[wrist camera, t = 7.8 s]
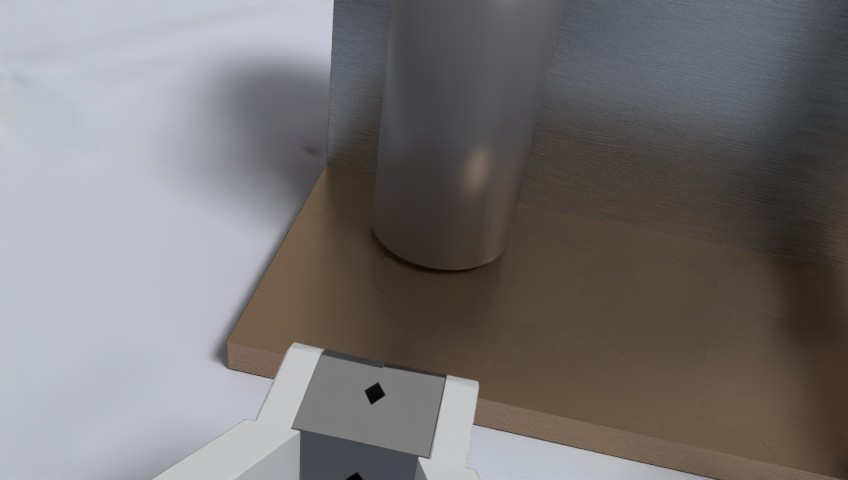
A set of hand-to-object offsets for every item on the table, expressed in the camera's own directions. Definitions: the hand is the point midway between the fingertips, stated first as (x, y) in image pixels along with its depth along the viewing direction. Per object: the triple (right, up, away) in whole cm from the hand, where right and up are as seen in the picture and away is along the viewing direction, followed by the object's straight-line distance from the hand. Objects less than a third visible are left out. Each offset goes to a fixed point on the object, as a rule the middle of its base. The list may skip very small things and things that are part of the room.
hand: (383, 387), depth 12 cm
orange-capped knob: (+2, +5, +15) cm, 16 cm away
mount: (+8, +1, +13) cm, 15 cm away
